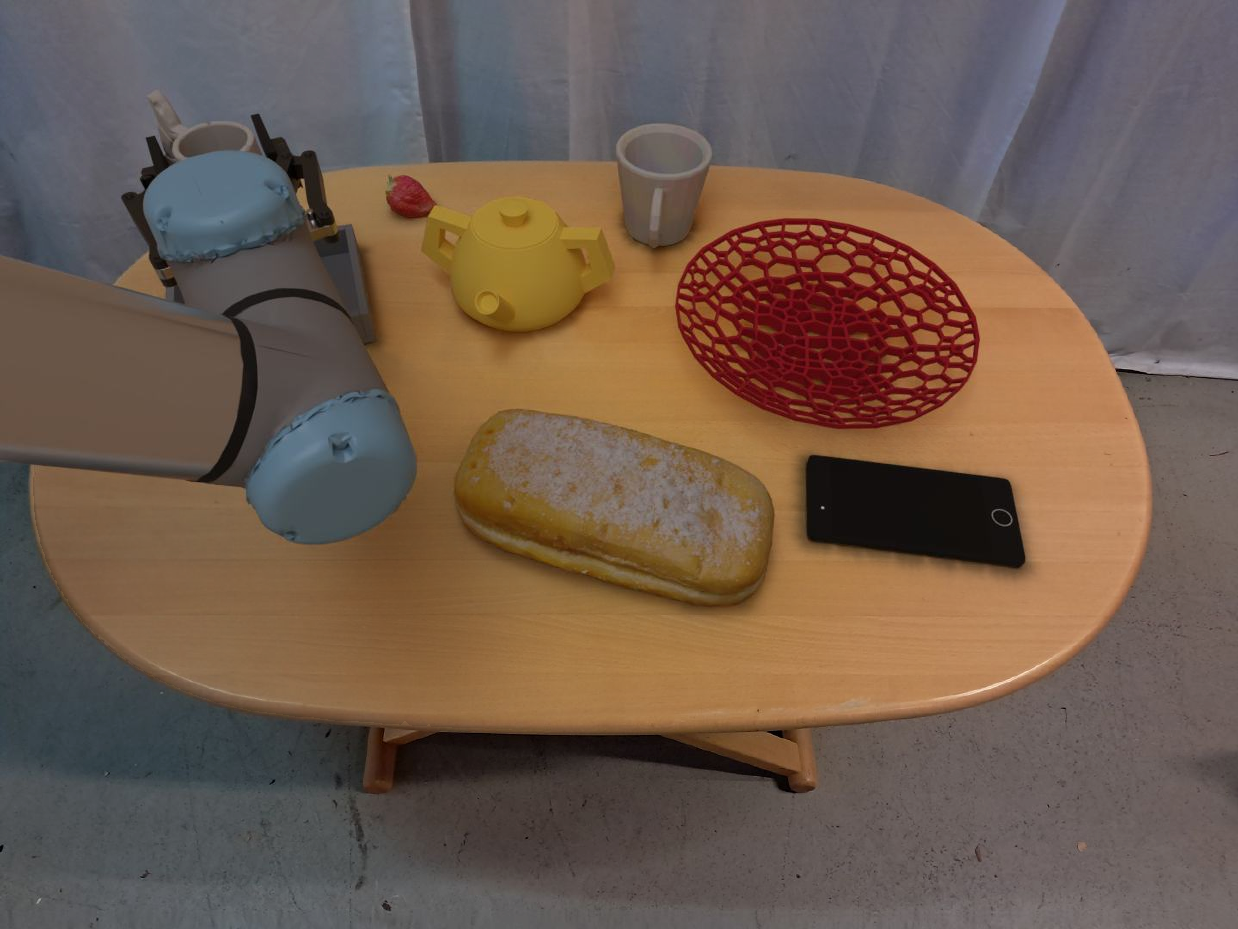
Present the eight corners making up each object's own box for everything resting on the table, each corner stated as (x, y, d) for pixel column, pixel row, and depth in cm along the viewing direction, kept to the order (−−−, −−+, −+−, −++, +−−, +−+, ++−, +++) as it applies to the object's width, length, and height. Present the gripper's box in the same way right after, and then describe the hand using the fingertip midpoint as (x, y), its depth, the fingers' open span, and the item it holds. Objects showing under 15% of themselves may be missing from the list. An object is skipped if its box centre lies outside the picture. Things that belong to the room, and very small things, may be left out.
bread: (491, 434, 74) (482, 374, 68) (776, 495, 71) (794, 439, 64) (437, 555, 66) (421, 500, 60) (755, 631, 63) (773, 582, 56)
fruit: (432, 226, 92) (425, 188, 88) (382, 220, 92) (372, 182, 89) (442, 204, 95) (436, 166, 91) (393, 199, 95) (384, 161, 91)
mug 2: (704, 204, 96) (715, 126, 88) (697, 285, 87) (708, 207, 79) (618, 195, 97) (621, 117, 89) (602, 276, 88) (603, 196, 80)
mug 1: (250, 280, 69) (195, 154, 60) (161, 231, 73) (96, 105, 63) (316, 235, 73) (274, 110, 64) (228, 190, 77) (176, 66, 67)
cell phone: (1022, 569, 67) (1027, 564, 66) (806, 541, 68) (808, 535, 67) (1006, 484, 72) (1010, 478, 71) (805, 459, 73) (808, 453, 72)
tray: (180, 378, 77) (163, 349, 74) (181, 281, 85) (166, 252, 82) (376, 341, 81) (368, 313, 78) (359, 252, 89) (351, 223, 86)
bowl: (991, 469, 73) (1015, 434, 69) (670, 452, 73) (675, 416, 69) (929, 262, 91) (945, 224, 87) (671, 248, 91) (675, 210, 87)
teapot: (396, 355, 80) (372, 266, 71) (449, 241, 91) (434, 152, 82) (594, 382, 78) (595, 295, 69) (623, 263, 89) (627, 175, 80)
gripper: (138, 377, 58) (102, 205, 70) (413, 296, 65) (337, 151, 77) (86, 298, 52) (56, 125, 64) (396, 217, 59) (316, 73, 71)
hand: (209, 139), depth 70 cm, fingers closed on mug 1, 8 cm apart
